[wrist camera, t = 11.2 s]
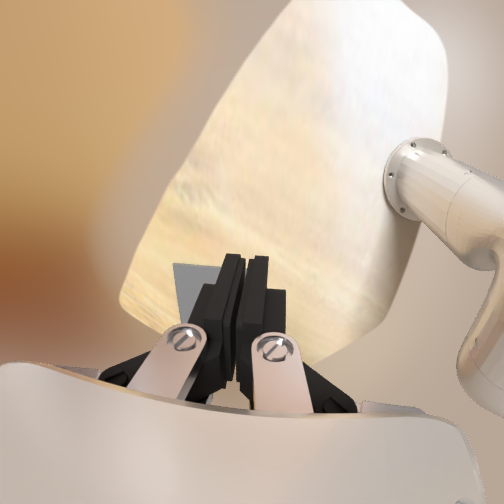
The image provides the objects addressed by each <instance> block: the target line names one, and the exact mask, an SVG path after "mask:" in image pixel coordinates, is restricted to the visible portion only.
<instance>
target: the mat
mask: <svg viewBox="0 0 504 504" xmlns="http://www.w3.org/2000/svg"><path fill="white" fill-rule="evenodd" d="M173 270H174V278H175V285H176V292H177V299H178V306H179V313H180V319H181V324H184V323H187V322H188V320H189V317H190V315H191V312H192V310H193V308H194V305H195V303H196V300H197V298H198V295H199V293H200V291H201V288H202V286H203V284H204V283H207V284H216V281H217V278H218V275H219V273H220V270H221V267H215V266H203V265H191V264H179V263H173ZM246 272H247V269H245V277H246Z"/></svg>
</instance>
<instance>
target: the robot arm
mask: <svg viewBox="0 0 504 504" xmlns="http://www.w3.org/2000/svg"><path fill="white" fill-rule="evenodd" d="M411 143H412V146H411ZM442 152H443V153H442ZM389 173H391V175H390V176H389ZM384 188H385V193H386V196H387V199H388V201H389V202H390V204H391V206H392V207H393V208H394V209H395V210H396V212H397V213H399V214H400V215H401V216H403V217H404V218H406V219H408V220H411V221H416V222H423V223H424V224H425V225H426V226H427V227H429V229H430V230H431V231H432V232H433V233H434V234H435V235H436V236H437V237H439V239H440V240H441V241H442V242H443V243H444V244H445V245H446V246H447V247H448V248H449V249H450V250H451V251H452V252H453V253H454V254H455V255H456V256H457V257H458V258H459V260H460V261H462V262H463V263H464V264H465V265H467V266H468V267H470V268H473V269H475V270H479V271H493V270H495V275H494V278H493V280H492V283H491V285H490V288H489V290H488V294H487V296H486V298H485V300H484V302H483V304H482V306H481V308H480V310H479V312H478V314H477V317H476V318H475V321H474V322H473V324H472V326H471V328H470V330H469V332H468V334H467V336H466V338H465V340H464V342H463V344H462V346H461V348H460V350H459V354H458V357H457V364H456V369H457V376H458V379H459V382H460V384H461V386H462V388H463V389H464V391H465V392H466V393H467V395H468V396H469V397H470V398H471V399H472V400H473V401H474V402H476V403H477V404H478V405H480V406H481V407H483V408H484V409H486V410H488V411H490V412H492V413H494V414H496V415H498V416H501V417H503V418H504V181H503V180H501V179H499V178H497V177H495V176H493V175H490V174H488V173H486V172H484V171H481V170H480V169H477V168H475V167H473V166H470V165H468V164H466V163H463V162H461V161H458V160H456V159H454V158H453V156H452V155H451V153H450V152H449V150H447V149H446V147H445V146H444V145H442V144H441V143H439V142H438V141H436V140H433V139H430V138H426V137H416V138H411V139H409V140H407V141H404V142H403V143H402V144H400V145H399V146H398V147H397V148H396V149H395V150H394V151H393V152H392V154H391V156H390V157H389V159H388V162H387V164H386V167H385V172H384ZM400 208H401V209H400ZM268 260H269V256H255V259H249V263H248V268H247V272H246V277H245V265H246V259H245V258H241V255H240V254H226V256H225V259H224V262H223V264H222V267H221V270H220V273H219V275H218V278H217V281H216V284H207V283H204V284H203V286H202V288H201V291H200V293H199V295H198V298H197V300H196V303H195V305H194V308H193V310H192V312H191V315H190V317H189V320H188V322H187V323H184V324H177V325H174V326H172V327H170V328H169V329H167V330H166V331H165V332H164V334H163V335H162V336H161V338H160V339H159V341H158V342H157V344H156V345H155V346H154V348H153V349H152V350H151V351H149V352H146V353H144V354H142V355H139V356H137V357H134V358H132V359H130V360H127V361H125V362H122V363H120V364H117V365H115V366H112V367H110V368H108V369H106V370H105V371H103V372H100V370H99V369H90V368H80V367H69V366H60V365H53V366H52V365H48V364H43V363H39V362H31V361H14V362H8V363H5V364H3V365H1V366H0V504H486V497H485V492H484V487H483V482H482V478H481V474H480V470H479V466H478V463H477V460H476V457H475V454H474V451H473V449H472V446H471V445H470V442H469V440H468V438H467V436H466V434H465V433H464V431H463V430H462V429H461V428H460V427H459V426H458V425H457V424H455V423H454V422H452V421H450V420H447V419H445V418H441V417H438V416H433V415H429V414H425V412H423V411H422V410H420V409H419V408H415V407H408V406H398V405H391V404H383V403H376V402H369V401H363V402H362V403H355V402H354V400H353V399H351V398H350V397H349V396H348V395H347V394H345V393H344V392H343V391H341V390H340V389H338V388H337V387H336V386H334V385H333V384H332V383H330V382H329V381H328V380H326V379H325V378H324V377H322V376H321V375H320V374H318V373H317V372H316V371H314V370H313V369H312V368H310V367H309V366H308V365H306V364H305V363H304V362H302V359H301V355H300V351H299V347H298V345H297V342H296V341H295V340H294V339H293V338H292V337H290V336H288V335H286V334H285V328H286V290H280V289H267V275H268ZM235 364H236V380H237V382H240V391H241V392H242V393H243V394H244V395H245V396H246V397H247V398H248V399H249V410H246V409H237V408H228V407H221V406H213V405H210V404H211V402H212V399H213V393H214V392H216V391H218V390H220V389H221V388H224V389H225V388H226V383H227V381H232V380H233V375H234V369H235Z"/></svg>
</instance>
